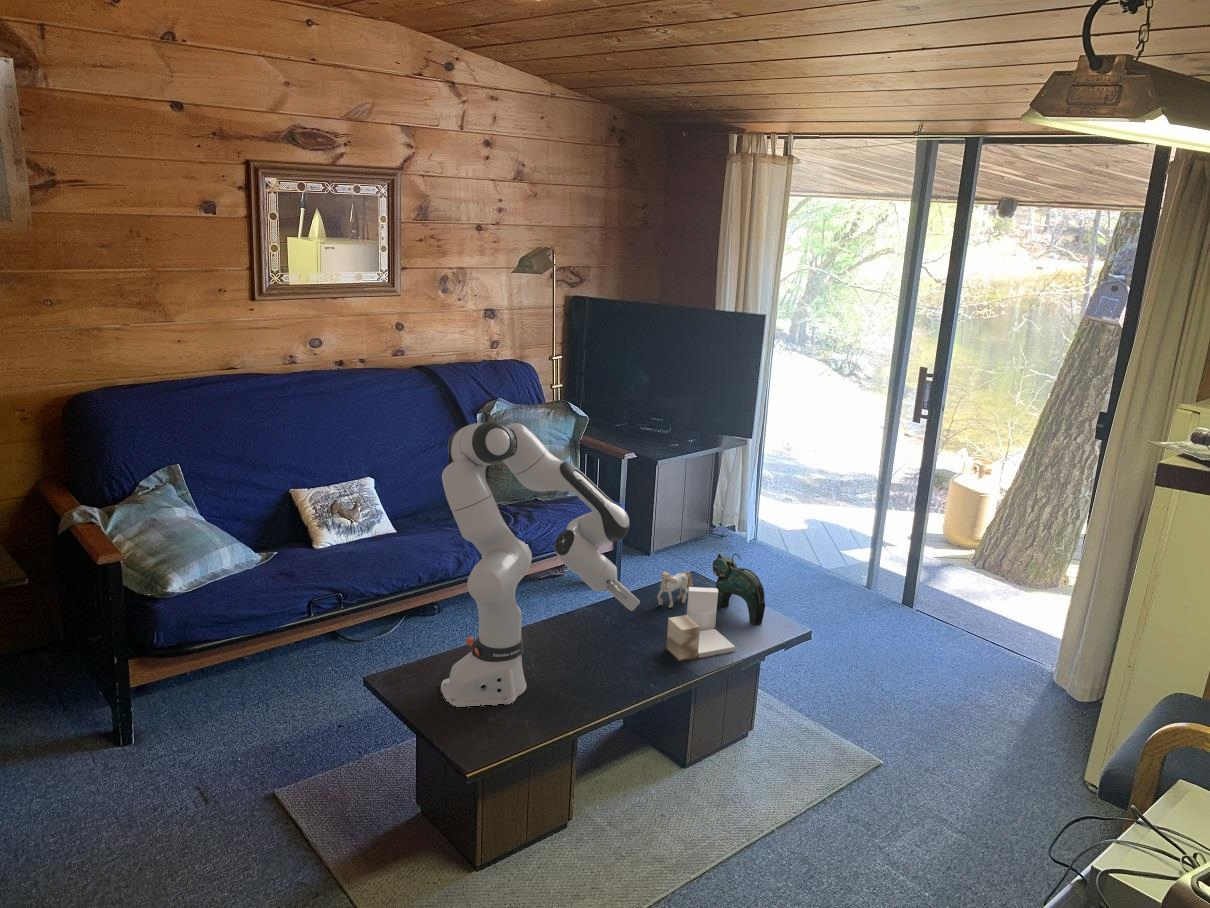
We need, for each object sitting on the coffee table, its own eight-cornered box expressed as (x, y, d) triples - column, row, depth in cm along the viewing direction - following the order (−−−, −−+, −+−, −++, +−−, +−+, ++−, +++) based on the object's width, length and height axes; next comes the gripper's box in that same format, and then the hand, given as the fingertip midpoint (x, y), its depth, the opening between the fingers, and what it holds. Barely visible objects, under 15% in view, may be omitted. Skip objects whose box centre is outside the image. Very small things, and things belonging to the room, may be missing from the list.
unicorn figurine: (647, 614, 301) (649, 575, 297) (674, 592, 317) (676, 555, 313) (667, 620, 297) (670, 580, 294) (694, 598, 314) (697, 560, 310)
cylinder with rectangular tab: (714, 619, 299) (716, 584, 296) (716, 632, 290) (719, 596, 287) (685, 618, 299) (687, 582, 296) (686, 631, 291) (689, 595, 287)
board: (698, 658, 275) (699, 653, 274) (679, 639, 285) (679, 634, 285) (734, 651, 280) (735, 646, 279) (714, 633, 290) (714, 628, 290)
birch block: (679, 661, 272) (681, 630, 270) (666, 649, 279) (668, 617, 276) (697, 658, 275) (700, 626, 272) (684, 645, 282) (686, 614, 279)
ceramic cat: (707, 605, 309) (712, 547, 303) (721, 600, 313) (726, 543, 307) (754, 628, 294) (759, 568, 289) (768, 622, 298) (773, 563, 293)
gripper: (625, 580, 250) (656, 609, 257) (593, 552, 268) (623, 579, 274) (608, 598, 249) (640, 627, 256) (578, 569, 267) (609, 596, 274)
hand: (631, 602), depth 265 cm, fingers closed
